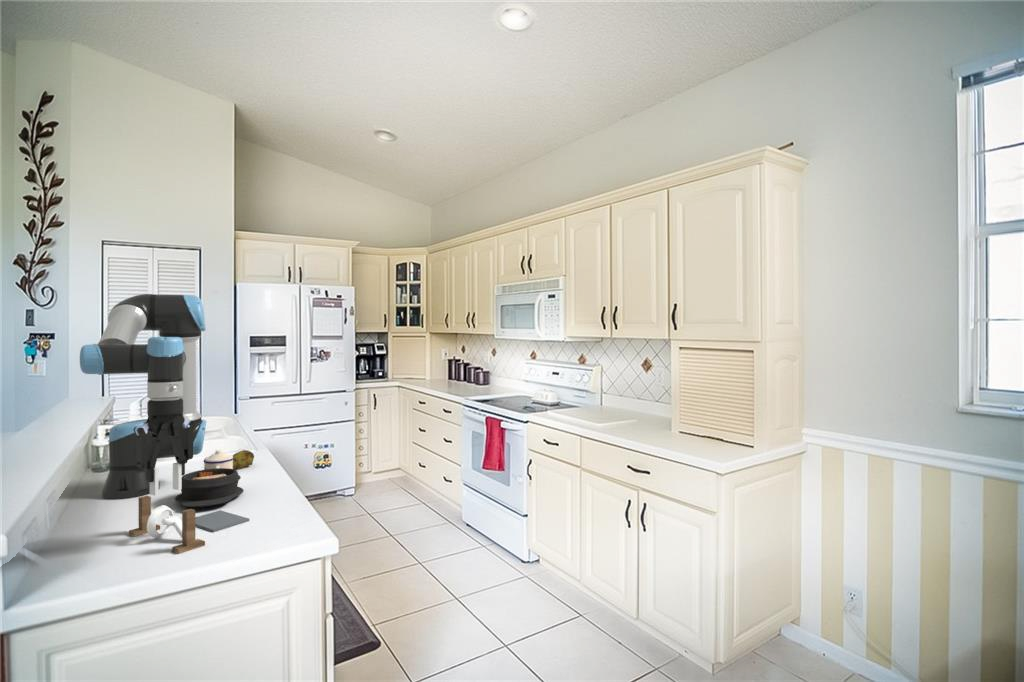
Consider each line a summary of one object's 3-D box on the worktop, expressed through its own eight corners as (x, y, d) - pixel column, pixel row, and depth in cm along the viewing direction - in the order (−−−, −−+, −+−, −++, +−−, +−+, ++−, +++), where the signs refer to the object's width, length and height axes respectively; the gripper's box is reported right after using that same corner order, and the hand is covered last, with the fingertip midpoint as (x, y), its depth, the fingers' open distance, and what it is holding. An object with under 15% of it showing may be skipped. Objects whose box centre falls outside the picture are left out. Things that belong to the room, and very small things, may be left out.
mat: (184, 522, 144) (184, 520, 144) (220, 512, 153) (220, 510, 153) (213, 532, 137) (213, 529, 137) (249, 520, 146) (249, 518, 146)
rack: (128, 534, 136) (128, 499, 136) (154, 527, 141) (154, 493, 141) (179, 553, 123) (178, 515, 123) (205, 545, 129) (204, 508, 129)
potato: (216, 472, 199) (215, 451, 199) (254, 468, 205) (254, 447, 205) (214, 477, 192) (214, 455, 192) (254, 473, 198) (254, 452, 198)
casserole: (181, 493, 172) (181, 467, 172) (245, 487, 180) (245, 462, 180) (167, 517, 149) (167, 487, 149) (241, 508, 157) (241, 480, 157)
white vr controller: (157, 562, 127) (173, 539, 126) (132, 526, 131) (148, 505, 130) (185, 555, 134) (200, 533, 133) (161, 521, 138) (176, 501, 137)
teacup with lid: (205, 482, 185) (204, 449, 185) (234, 479, 189) (234, 446, 189) (201, 491, 174) (201, 455, 174) (232, 488, 178) (232, 453, 178)
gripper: (132, 403, 123) (133, 503, 123) (209, 396, 138) (209, 485, 138) (117, 401, 126) (117, 498, 127) (193, 394, 142) (194, 481, 142)
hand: (165, 491), depth 132 cm, fingers open, 5 cm apart
